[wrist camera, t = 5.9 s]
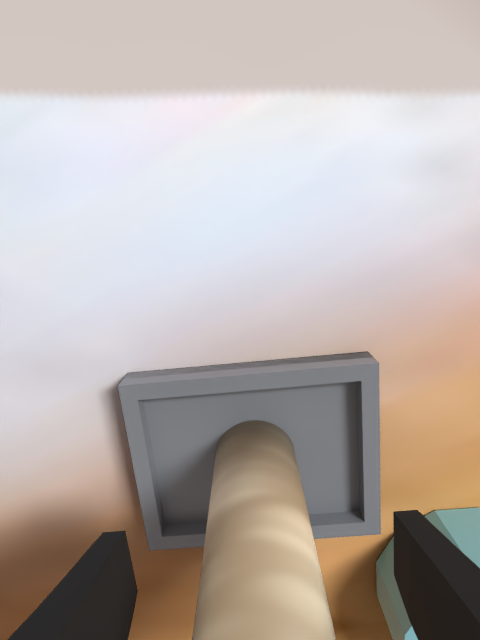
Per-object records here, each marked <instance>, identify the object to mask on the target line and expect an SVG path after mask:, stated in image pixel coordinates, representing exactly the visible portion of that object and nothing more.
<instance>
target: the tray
mask: <svg viewBox="0 0 480 640" xmlns="http://www.w3.org/2000/svg"><path fill="white" fill-rule="evenodd" d="M118 390H119V396H120V401H121V406H122V411H123V417H124V422H125V427H126V432H127V437H128V443H129V448H130V453H131V458H132V463H133V469H134V474H135V479H136V484H137V490H138V495H139V500H140V505H141V510H142V516H143V521H144V526H145V531H146V536H147V542H148V547H149V551H151V550H166V549H180V548H194V547H204V543H205V535H206V527H207V519H208V512H209V504H210V496H211V488H212V480H213V472H214V464H215V456H216V449H217V445H218V443H219V441H220V439H221V437H222V436H223V435H224V433H225V432H226V431H227V430H229V429H230V428H231V427H233V426H234V425H236V424H239V423H241V422H245V421H250V420H261V421H266V422H269V423H272V424H274V425H276V426H278V427H279V428H281V429H282V430H283V431H284V432H285V433H286V434H287V435H288V436H289V438H290V439H291V441H292V444H293V447H294V451H295V455H296V460H297V464H298V469H299V474H300V478H301V483H302V487H303V492H304V496H305V501H306V505H307V510H308V514H309V519H310V523H311V528H312V533H313V537H314V539H320V538H334V537H348V536H363V535H377V534H381V517H380V416H379V363H378V362H377V361H376V359H375V358H374V357H373V356H372V355H371V354H370V353H369V352H357V353H346V354H334V355H323V356H312V357H300V358H289V359H278V360H267V361H255V362H244V363H233V364H221V365H210V366H199V367H188V368H176V369H165V370H154V371H143V372H131V373H127V375H126V376H125V377H124V379H123V380H122V381H121V382H120V384H119V385H118Z"/></svg>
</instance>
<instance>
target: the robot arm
mask: <svg viewBox="0 0 480 640" xmlns="http://www.w3.org/2000/svg"><path fill="white" fill-rule="evenodd" d="M394 577H395V580H396V583H397V586H398V589H399V592H400V595H401V598H402V601H403V604H404V606H405V609H406V612H407V615H408V618H409V620H410V623H411V625H412V627H413V630H414V632H415V634H416V636H417V638H418V640H480V568H479V567H478V566H477V565H476V564H475V563H474V562H473V561H471V560H470V559H469V558H468V557H467V556H466V555H465V554H464V553H463V552H462V551H461V550H459V549H458V548H457V547H456V546H455V545H454V544H453V543H452V542H451V541H450V540H449V539H448V538H447V537H446V536H444V535H443V534H442V533H441V532H440V531H439V530H438V529H437V528H436V527H435V526H434V525H433V524H432V523H431V522H430V521H429V520H428V519H427V518H425V517H424V516H423V515H422V514H421V513H420V512H419V511H418V510H410V511H396V512H394ZM136 597H137V586H136V581H135V576H134V571H133V567H132V562H131V557H130V552H129V547H128V542H127V538H126V533H125V531H117V532H103V533H102V534H101V536H100V537H99V538H98V539H97V540H96V541H95V542H94V543H93V545H92V546H91V547H90V548H89V549H88V550H87V552H86V553H85V554H84V555H83V556H82V557H81V559H80V560H79V561H78V562H77V563H76V564H75V566H74V567H73V568H72V569H71V570H70V571H69V573H68V574H67V575H66V576H65V577H64V578H63V579H62V581H61V582H60V583H59V584H58V585H57V586H56V587H55V589H54V590H53V591H52V592H51V593H50V594H49V595H48V596H47V598H46V599H45V600H44V601H43V602H42V603H41V604H40V605H39V607H38V608H37V609H36V610H35V611H34V612H33V613H32V614H31V615H30V616H29V618H28V619H27V620H26V621H25V622H24V623H23V624H22V625H21V626H20V627H19V628H18V629H17V630H16V631H15V632H14V633H13V634H12V635H11V637H10V638H9V639H8V640H128V636H129V631H130V627H131V622H132V617H133V612H134V607H135V602H136Z"/></svg>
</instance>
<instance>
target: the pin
mask: <svg viewBox="0 0 480 640" xmlns="http://www.w3.org/2000/svg"><path fill="white" fill-rule="evenodd" d="M192 640H336V637H335V632H334V628H333V623H332V619H331V614H330V610H329V605H328V601H327V596H326V592H325V587H324V582H323V578H322V573H321V569H320V564H319V560H318V555H317V551H316V546H315V542H314V537H313V533H312V528H311V523H310V519H309V514H308V510H307V505H306V501H305V496H304V492H303V487H302V483H301V478H300V474H299V469H298V464H297V460H296V455H295V451H294V447H293V444H292V441H291V439H290V438H289V436H288V435H287V434H286V433H285V432H284V431H283V430H282V429H281V428H279V427H278V426H276V425H274V424H272V423H269V422H266V421H261V420H250V421H245V422H241V423H239V424H236V425H234V426H233V427H231V428H230V429H229V430H227V431H226V432H225V433H224V435H223V436H222V437H221V439H220V441H219V443H218V445H217V449H216V456H215V464H214V472H213V480H212V488H211V496H210V504H209V512H208V519H207V527H206V535H205V543H204V551H203V559H202V567H201V575H200V583H199V590H198V598H197V606H196V614H195V622H194V630H193V638H192Z"/></svg>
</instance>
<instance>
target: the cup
mask: <svg viewBox="0 0 480 640" xmlns="http://www.w3.org/2000/svg"><path fill="white" fill-rule="evenodd" d="M424 517H425V518H427V519H428V520H429V521H430V522H431V523H432V524H433V525H434V526H435V527H436V528H437V529H438V530H439V531H440V532H441V533H442V534H443V535H444V536H446V537H447V538H448V539H449V540H450V541H451V542H452V543H453V544H454V545H455V546H456V547H457V548H458V549H459V550H461V551H462V552H463V553H464V554H465V555H466V556H467V557H468V558H469V559H470V560H471V561H473V562H474V563H475V564H476V565H477V566H478V567H479V568H480V508H478V507H476V508H463V509H449V510H435V511H433V512H431V513H429V514H427V515H425V516H424ZM376 592H377V597H378V600H379V603H380V605H381V608H382V611H383V614H384V617H385V619H386V622H387V625H388V628H389V631H390V633H391V636H392V639H393V640H418V638H417V636H416V634H415V632H414V630H413V627H412V625H411V623H410V620H409V618H408V615H407V612H406V609H405V606H404V604H403V601H402V598H401V595H400V592H399V589H398V586H397V583H396V580H395V577H394V536H393V538H392V539H391V540H390V542H389V543H388V545H387V546H386V548H385V549H384V551H383V552H382V554H381V555H380V557H379V558H378V560H377V561H376Z"/></svg>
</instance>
